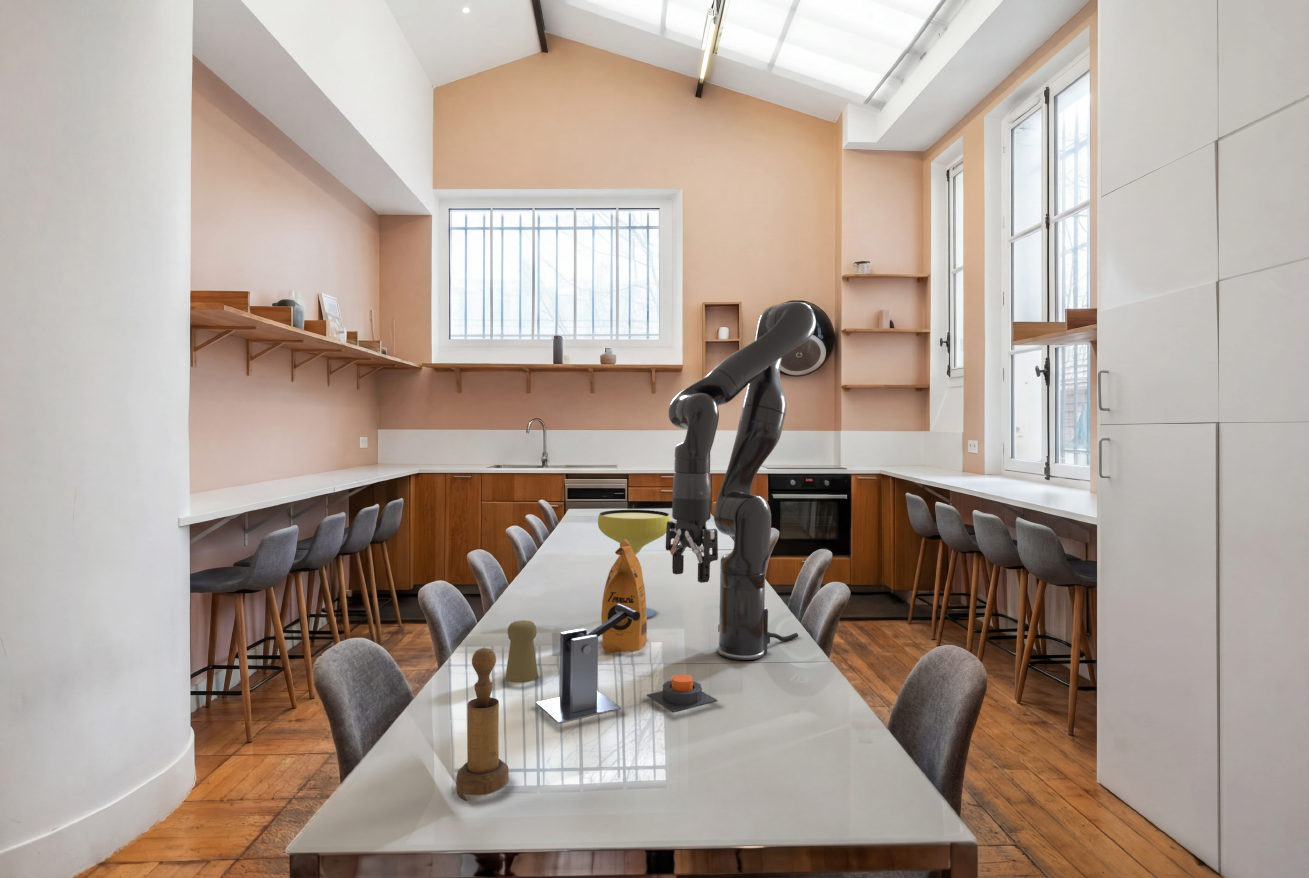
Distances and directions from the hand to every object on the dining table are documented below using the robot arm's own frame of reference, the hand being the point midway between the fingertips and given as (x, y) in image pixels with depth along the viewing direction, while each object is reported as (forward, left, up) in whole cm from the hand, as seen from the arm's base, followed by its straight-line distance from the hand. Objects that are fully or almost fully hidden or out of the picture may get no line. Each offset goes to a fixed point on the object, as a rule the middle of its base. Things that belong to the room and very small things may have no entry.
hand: (690, 577), depth 134 cm
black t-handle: (+24, +9, -5) cm, 26 cm away
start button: (+12, +15, -15) cm, 24 cm away
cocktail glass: (-10, -37, -18) cm, 42 cm away
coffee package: (+5, -16, -18) cm, 25 cm away
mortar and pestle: (+49, +24, -18) cm, 58 cm away
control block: (+12, +15, -17) cm, 26 cm away
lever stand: (+28, +9, -17) cm, 34 cm away
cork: (+31, -8, -18) cm, 37 cm away
